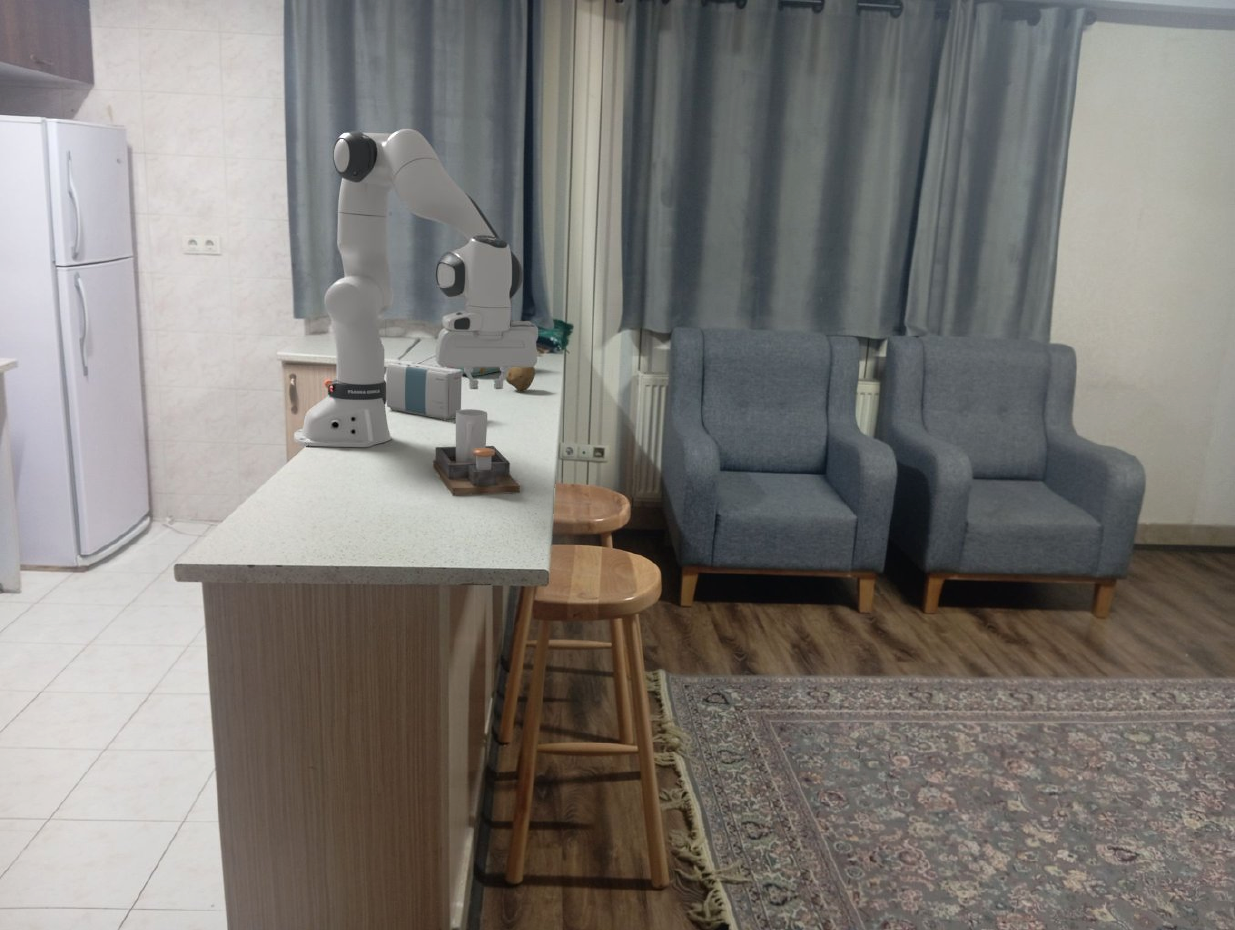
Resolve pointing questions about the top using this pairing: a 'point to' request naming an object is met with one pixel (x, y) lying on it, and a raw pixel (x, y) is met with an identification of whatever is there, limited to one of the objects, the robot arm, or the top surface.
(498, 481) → the board
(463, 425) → the mug
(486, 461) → the click button
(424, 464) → the top surface
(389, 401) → the stereo radio cassette player
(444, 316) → the robot arm
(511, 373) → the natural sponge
